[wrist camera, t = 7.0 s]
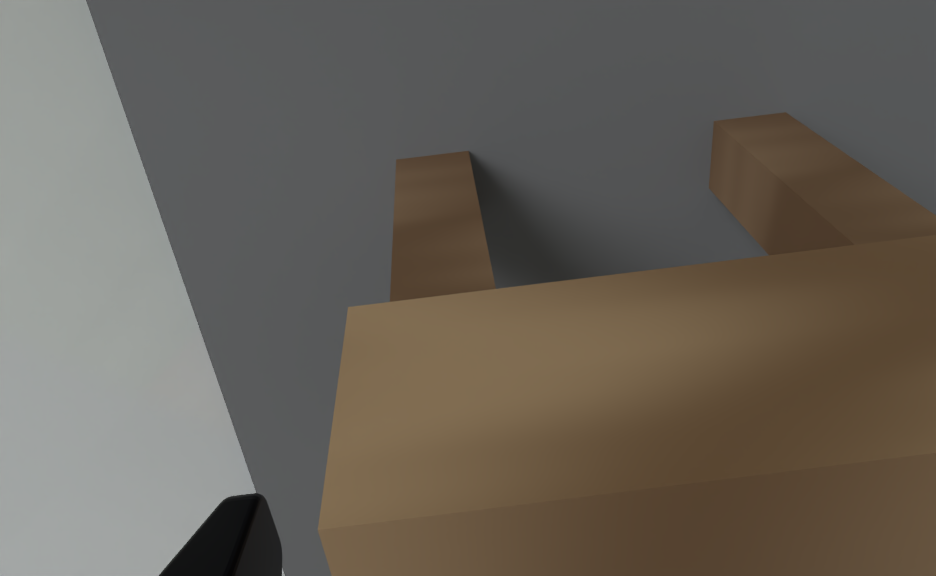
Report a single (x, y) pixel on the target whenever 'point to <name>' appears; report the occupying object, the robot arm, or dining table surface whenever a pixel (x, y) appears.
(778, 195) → the stool
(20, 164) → the dining table surface
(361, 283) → the mat
